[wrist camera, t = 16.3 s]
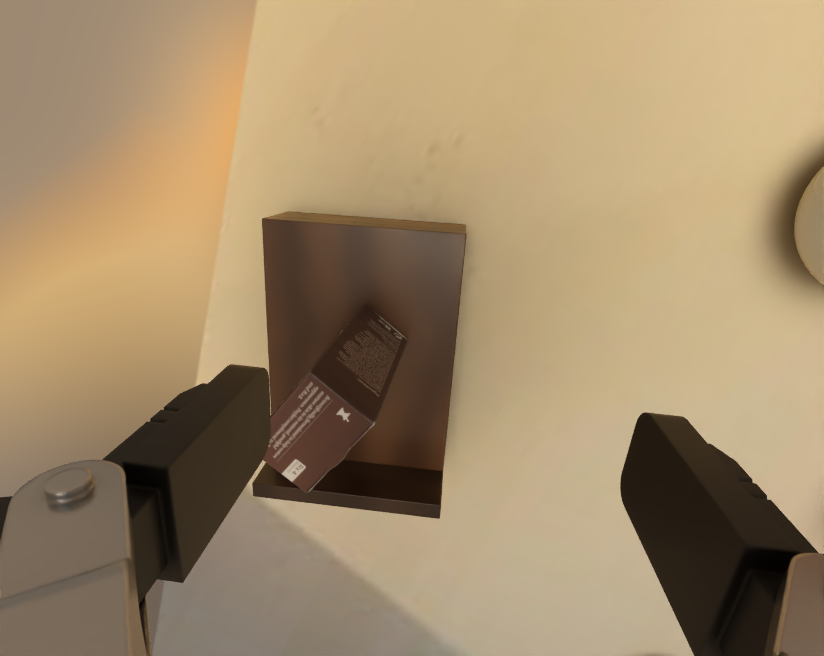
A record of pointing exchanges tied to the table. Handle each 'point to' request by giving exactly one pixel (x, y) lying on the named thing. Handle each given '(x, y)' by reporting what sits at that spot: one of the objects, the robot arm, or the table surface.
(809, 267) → the vase
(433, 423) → the rack
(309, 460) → the box
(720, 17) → the table surface
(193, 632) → the table surface
